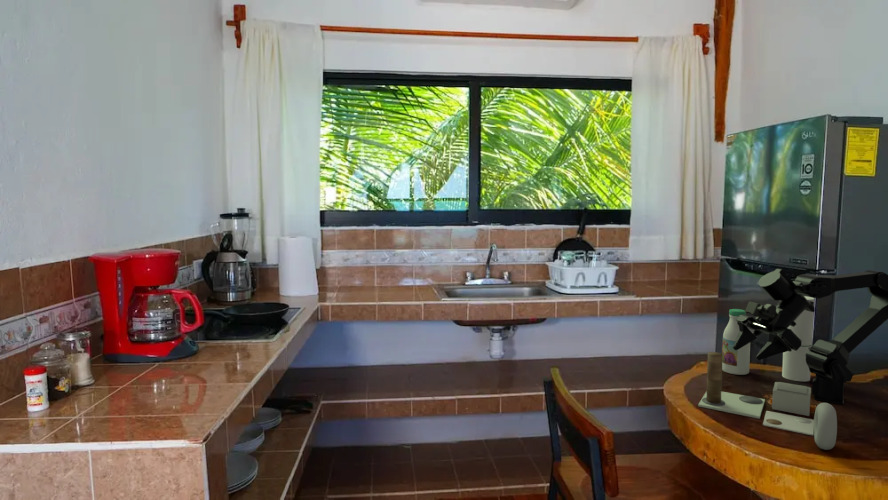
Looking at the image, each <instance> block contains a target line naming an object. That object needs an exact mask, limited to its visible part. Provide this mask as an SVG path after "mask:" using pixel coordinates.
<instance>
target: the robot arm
mask: <svg viewBox="0 0 888 500" xmlns="http://www.w3.org/2000/svg"><path fill="white" fill-rule="evenodd" d="M758 285H759V286H760V287H761V289H762V290H763V291H764V292H765V293H766V294H767V295H768V296H769V297H770V298H771V300H772V301H777V303H776V304H775V305H773V304H770V303H766V304H764V305H763V304H760V303H756V302H753V301H748V303H747V305H746V308H745V309H744V310H745V312H746V315H740V316H739V317H738V318H737V319H736V321H737V324H738V326H739V334H738V336H737V339H736V341H735V344H734V346H733V349H734V350H738V349H740V348H742V347H743V346H745V345H747V344H748V343H750V344H751V343H752V342H753V341H755V340H756V339H757V338H758V337H757V336H760V335H761V334H765V335H768V340H767V342H766V343H765V344H764V345H763V346H762V348H761V349H760V350H759V352H758V353H757V355H755V359H756V360H757V361H761V360H763V359H768V358H770V357H773V356H776V355H780V354H783V352H787V351H789V352H790V351H792V350H795V351H797V350H798V349H799V348H800V347H801V343H802V341H801V340H800V339H799V338H798V336H797V335H796V334H795V333H794V332H793V331H792V330H791V329H788V327H789V326H793V327H794V326H795V325H796V323H795V322H794V321H795V320H796V319H797V318H798V316H799V315H800V314H801V313H802V312H803V311H804V310H807V311H810V312H814V313H815V311H816V309H815V301H814V302H812V301H808V300H807V299H806V298H805V297H804V296H807V297H812V298H814V299H818V300H819V299H820V300H821V299H823V298H827V297H829V296H832V295H833V294H834V293H837V292H842V291H847V290H848V291H849V290H856V289H865V288H867V290H868V292H869V293H870V294H871V295H872V296H871V297H870V304H869V306H868V307H867V308H866V309H865V310H863V312H862V313H860V315H858V316H857V317H856V318H855V319H854V320H853V321H852V322H850V323H849V324H848V325H847V326H846V327H845V328H844V329H843V330H841V331H840V332H839V333H838V334H837V335H836V336H835V337H834V338H832V339H831V340H828V341H826V340H823V339H818V340H816V342H814V344H812V347H809V348H808V349H809V351H808V352H807V353H806V355H805V356H806V363H807V365H808V367H809V370H810V374H815V378H812V388H811V395H812V396H813V399H814V400H817V401H821V402H826V403H828V402H829V403H833V404H840V405H844V404H845V401H844V388H845V384H846V383H850V382H851V380H852V378H853V376H854V373H852V371H851V370H850V369H849V368H848V367H847V365H848V363H849V359H850V354H851V352H853V351H854V350H855V349H856V348H857V347H858V346H859V345H860V344H862V343H863V342H864V341H865V340H866V339H867V338H868V337H869V336H871V335H872V334H873V333H874V332H875V331H876V330H877V329H878V328H880V326H882V325H883V324H884V323H885V322H886V321H888V273H886V272H884V271H879V270H871V269H870V270H865V271H858V272H851V273H850V272H849V273H843V274H841V273H840V274H836V275H835V274H834V275H817V274H806V273H805V274H804V273H802V274H799V275H797V276H796V278H790V277H789V276H788V275H787V272H786V271H784V269H782V268H776V269H775V270H773V271H771V272H768V273H766V274H765V275H762V276H761V277H760V278H759V280H758ZM747 314H750V315H752V316H750V315H747ZM753 316H754V317H755V318H754V317H753ZM791 349H792V350H791Z"/></svg>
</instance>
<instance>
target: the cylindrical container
mask: <svg viewBox="0 0 888 500" xmlns="http://www.w3.org/2000/svg"><path fill="white" fill-rule="evenodd" d="M804 297H805V298H806V299H807V300H808V301H812V302H814V303H815V298H812V297H808V296H804ZM814 314H815V311H814V312H810V311H807V310H804V311H803V312H802V313H801V314H800V315H799V316H798V318H797V319H796V320H795V321H794V322H795V323H796V325H795V326H794V327H793V326H789V327H788V329H791V330H792V331H793V332H794V333H795V334H796V335H797V336H798V338H799V339H800V340H801V341H802V343H801V347H800V348H799V349H798V350H797V351H795V350H792V349H791V350H792V351H790V352H789V351H787V352H783V353H782V371H781V376H782V377H783V378H784V379H786V380H790V381H796V382H810V381H811V372H810V370H809V367H808V365H807V363H806V356H805V355H806V353H807V352H808V351H809V349H808V348H809V347H812V346H813V331H814V329H813V328H814Z"/></svg>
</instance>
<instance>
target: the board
mask: <svg viewBox="0 0 888 500" xmlns="http://www.w3.org/2000/svg"><path fill="white" fill-rule="evenodd" d="M706 398H707V390H706V391H705V393H704V394H703V396H702V398H701V400H699V403H698V405H697V406H698V407H699V408H704V409H710V410H714V411H720V412H723V413H724V412H725V413H728V414H729V413H730V414H735V415H740V416H744V417H749V418H753V419H759V420H760V419H761V415H762V412H763V409H764V405H765V402H766V399H765V398H760V397H756V396H751V395H743V394H738V393H732V392H727V391H726V392H725V391H722V390H721V403H719V404H714V403H710V402H708V401H707V400H706Z"/></svg>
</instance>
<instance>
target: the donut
mask: <svg viewBox="0 0 888 500" xmlns="http://www.w3.org/2000/svg"><path fill="white" fill-rule="evenodd" d="M837 418H838V417H837V411H836V408H835V407H834V406H833V405H832V404H830V403H828V402H820V403H819V404H817V406H816V407H815V412H814V416H813V420H814V430H813V439H814V442H815V444H816V446H817V447H818V448H819V449H821V450H823V451H829V450H833V448H834V447H835V445H836V443H837V442H836V441H837V435H838V433H837V432H838V419H837Z"/></svg>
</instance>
